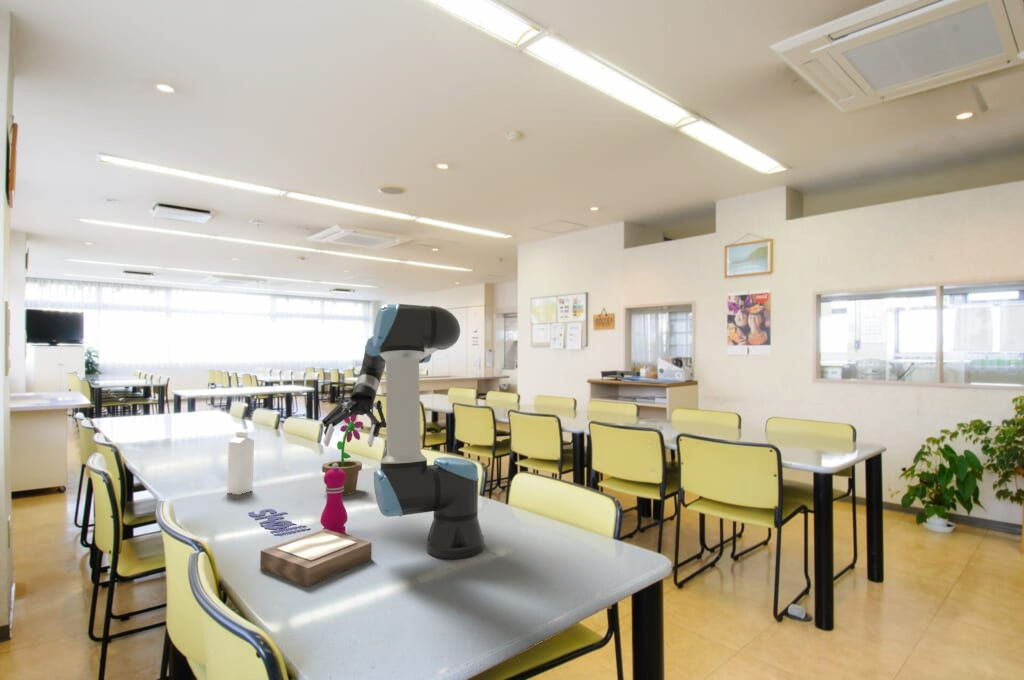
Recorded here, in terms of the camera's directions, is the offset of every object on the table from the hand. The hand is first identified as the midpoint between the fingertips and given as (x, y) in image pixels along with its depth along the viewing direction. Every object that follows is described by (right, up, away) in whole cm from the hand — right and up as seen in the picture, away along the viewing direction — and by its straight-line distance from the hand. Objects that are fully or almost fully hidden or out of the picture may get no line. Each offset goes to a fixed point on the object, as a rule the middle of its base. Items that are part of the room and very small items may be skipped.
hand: (347, 444), depth 150 cm
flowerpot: (-13, -25, +34) cm, 45 cm away
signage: (-22, -24, 0) cm, 33 cm away
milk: (-51, -25, +33) cm, 66 cm away
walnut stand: (+3, -23, -30) cm, 38 cm away
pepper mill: (0, -24, -11) cm, 26 cm away
